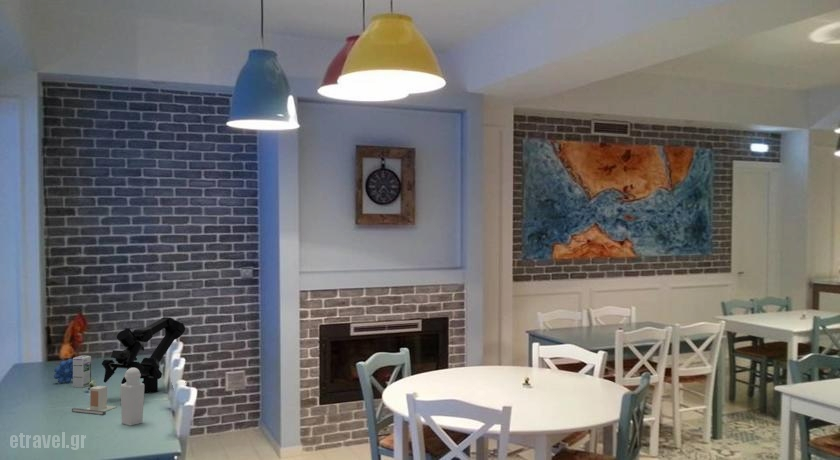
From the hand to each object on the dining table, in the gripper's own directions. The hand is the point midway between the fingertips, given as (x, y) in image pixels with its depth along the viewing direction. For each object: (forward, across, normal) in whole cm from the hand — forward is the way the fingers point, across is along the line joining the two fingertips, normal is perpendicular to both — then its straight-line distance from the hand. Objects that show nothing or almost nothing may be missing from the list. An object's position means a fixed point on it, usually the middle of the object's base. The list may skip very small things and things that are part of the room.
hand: (113, 382), depth 285 cm
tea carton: (+12, 0, 0) cm, 13 cm away
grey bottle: (+21, +27, -8) cm, 35 cm away
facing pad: (+13, 0, 0) cm, 13 cm away
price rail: (+17, 0, -3) cm, 17 cm away
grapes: (-11, -50, +25) cm, 57 cm away
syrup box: (-9, -38, +23) cm, 45 cm away
